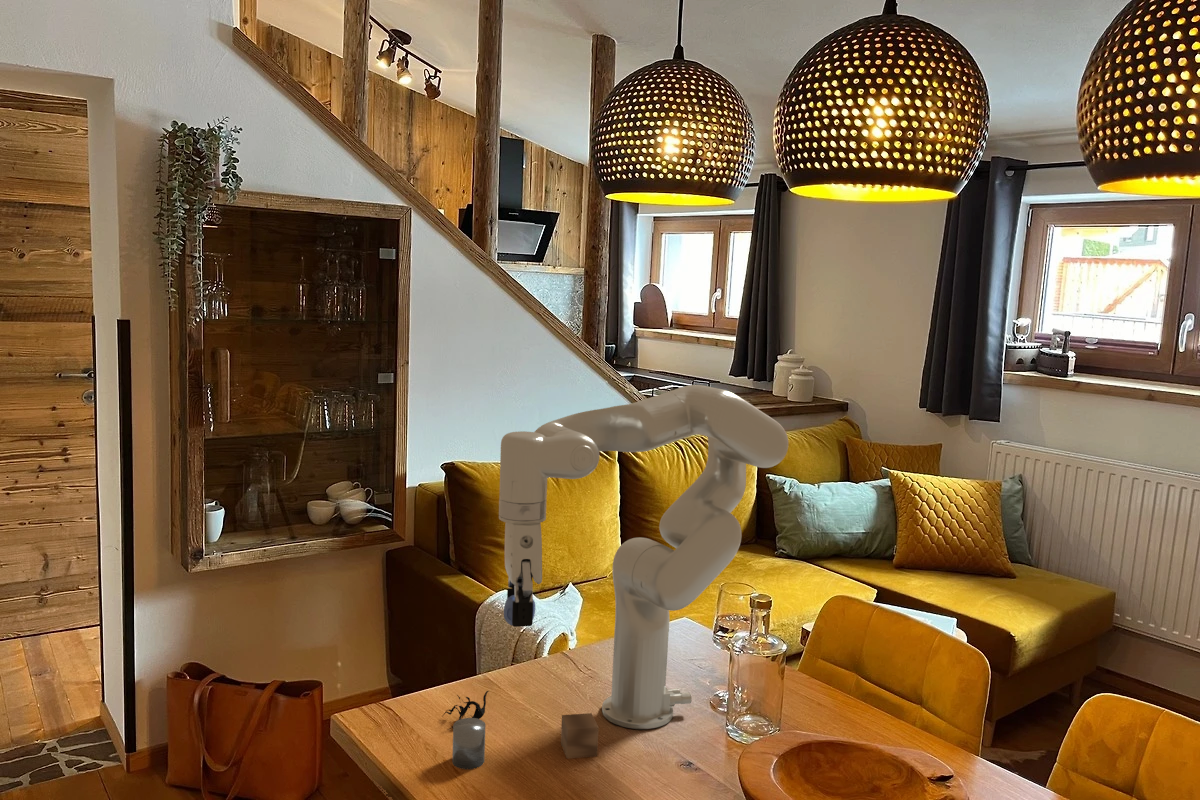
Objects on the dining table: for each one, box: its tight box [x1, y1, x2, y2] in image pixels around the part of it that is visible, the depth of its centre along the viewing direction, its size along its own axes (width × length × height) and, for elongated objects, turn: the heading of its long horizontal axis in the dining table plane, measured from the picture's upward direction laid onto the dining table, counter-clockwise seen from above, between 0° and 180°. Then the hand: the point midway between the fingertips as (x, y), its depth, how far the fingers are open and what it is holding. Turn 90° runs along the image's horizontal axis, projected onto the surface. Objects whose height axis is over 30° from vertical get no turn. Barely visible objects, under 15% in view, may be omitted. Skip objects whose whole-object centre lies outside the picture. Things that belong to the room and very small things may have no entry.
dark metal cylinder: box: [451, 717, 486, 770], centre depth 148 cm, size 5×5×6 cm
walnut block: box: [560, 712, 599, 760], centre depth 153 cm, size 5×5×5 cm
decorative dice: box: [503, 595, 536, 627], centre depth 152 cm, size 4×4×4 cm
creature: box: [441, 690, 490, 731], centre depth 161 cm, size 8×5×8 cm
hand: (519, 617), depth 152 cm, fingers closed on decorative dice, 5 cm apart
